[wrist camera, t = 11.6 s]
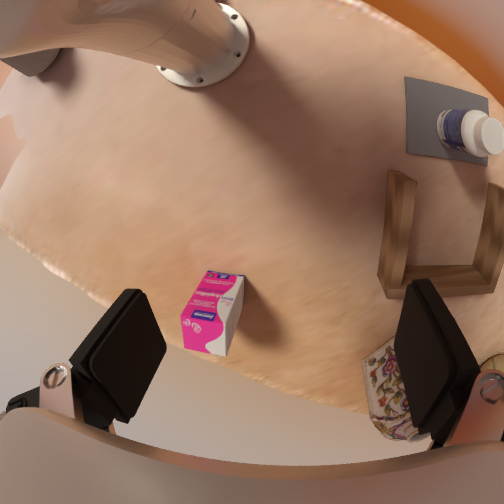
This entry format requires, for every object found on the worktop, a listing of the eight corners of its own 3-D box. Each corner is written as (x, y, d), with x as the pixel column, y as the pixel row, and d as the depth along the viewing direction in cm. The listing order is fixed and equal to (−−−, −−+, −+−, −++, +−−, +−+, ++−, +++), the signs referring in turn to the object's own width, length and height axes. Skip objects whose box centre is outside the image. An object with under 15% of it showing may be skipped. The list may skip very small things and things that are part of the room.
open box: (388, 170, 31) (404, 180, 25) (495, 183, 27) (518, 195, 22) (377, 275, 37) (387, 299, 32) (476, 273, 34) (493, 293, 29)
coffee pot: (80, 18, 25) (14, 5, 11) (57, 79, 30) (-12, 83, 17) (22, 23, 23) (-30, 22, 10) (6, 72, 29) (-47, 79, 16)
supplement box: (245, 273, 40) (227, 325, 30) (243, 305, 43) (227, 359, 33) (206, 268, 41) (178, 316, 31) (208, 300, 44) (183, 350, 34)
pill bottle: (437, 149, 27) (478, 162, 19) (432, 109, 25) (473, 109, 17) (468, 148, 26) (511, 162, 18) (463, 109, 24) (507, 112, 15)
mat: (404, 77, 25) (405, 76, 24) (486, 98, 22) (487, 98, 22) (406, 152, 29) (407, 153, 29) (485, 165, 27) (487, 165, 26)
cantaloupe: (507, 365, 42) (526, 407, 28) (463, 391, 47) (478, 437, 34) (513, 330, 37) (541, 377, 24) (464, 361, 42) (485, 414, 29)
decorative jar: (359, 359, 45) (369, 445, 29) (409, 321, 40) (441, 408, 24) (392, 381, 47) (406, 456, 31) (438, 349, 42) (465, 424, 26)
